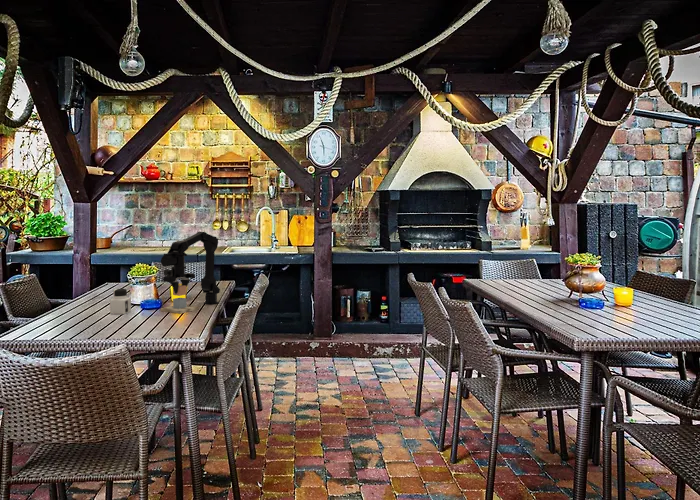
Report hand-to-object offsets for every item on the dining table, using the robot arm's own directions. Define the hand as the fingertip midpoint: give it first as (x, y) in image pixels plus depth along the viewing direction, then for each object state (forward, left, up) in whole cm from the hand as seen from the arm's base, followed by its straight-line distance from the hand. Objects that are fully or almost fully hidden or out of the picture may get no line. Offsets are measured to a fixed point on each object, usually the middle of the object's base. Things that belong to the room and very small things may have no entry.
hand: (179, 292), depth 300 cm
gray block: (0, 0, -8) cm, 8 cm away
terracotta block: (0, 0, -1) cm, 1 cm away
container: (+21, -22, -10) cm, 32 cm away
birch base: (0, 0, -10) cm, 10 cm away
